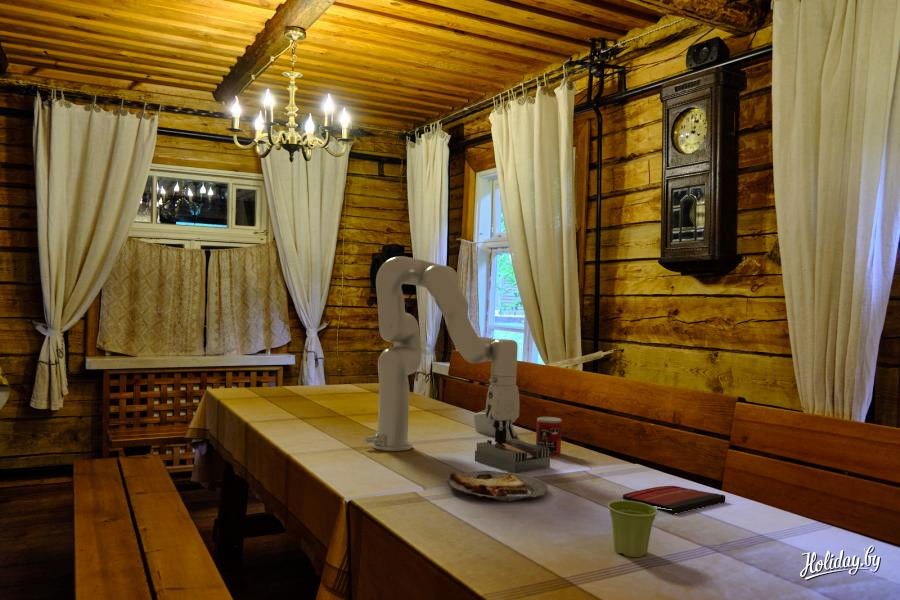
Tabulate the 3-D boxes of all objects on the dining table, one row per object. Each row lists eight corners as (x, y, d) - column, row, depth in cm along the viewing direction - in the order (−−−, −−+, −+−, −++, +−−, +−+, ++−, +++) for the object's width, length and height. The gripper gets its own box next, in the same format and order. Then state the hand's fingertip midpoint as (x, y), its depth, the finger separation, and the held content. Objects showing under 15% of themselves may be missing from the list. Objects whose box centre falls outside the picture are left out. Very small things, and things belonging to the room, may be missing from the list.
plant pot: (647, 544, 141) (648, 501, 141) (662, 561, 132) (664, 515, 132) (600, 542, 141) (602, 499, 141) (613, 560, 132) (615, 514, 132)
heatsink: (514, 473, 194) (515, 452, 194) (474, 460, 208) (475, 441, 208) (549, 467, 203) (550, 447, 203) (509, 455, 216) (509, 436, 216)
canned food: (532, 454, 220) (533, 419, 220) (540, 449, 227) (542, 415, 227) (555, 457, 216) (556, 421, 216) (563, 453, 223) (565, 418, 223)
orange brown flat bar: (523, 457, 200) (524, 455, 200) (495, 445, 209) (495, 443, 209) (530, 456, 202) (531, 454, 201) (502, 444, 211) (502, 442, 211)
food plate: (461, 505, 162) (462, 490, 162) (436, 480, 184) (437, 467, 185) (561, 504, 169) (562, 489, 169) (525, 480, 191) (526, 467, 191)
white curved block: (519, 437, 245) (513, 411, 243) (510, 443, 242) (504, 417, 240) (485, 430, 257) (479, 404, 255) (476, 435, 254) (470, 410, 252)
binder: (725, 494, 174) (673, 507, 161) (725, 504, 174) (673, 517, 161) (670, 482, 187) (618, 493, 174) (670, 491, 187) (618, 502, 174)
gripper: (493, 383, 202) (490, 447, 202) (530, 381, 211) (527, 442, 211) (476, 380, 208) (473, 442, 208) (512, 378, 217) (509, 438, 217)
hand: (500, 442), depth 209 cm, fingers closed
